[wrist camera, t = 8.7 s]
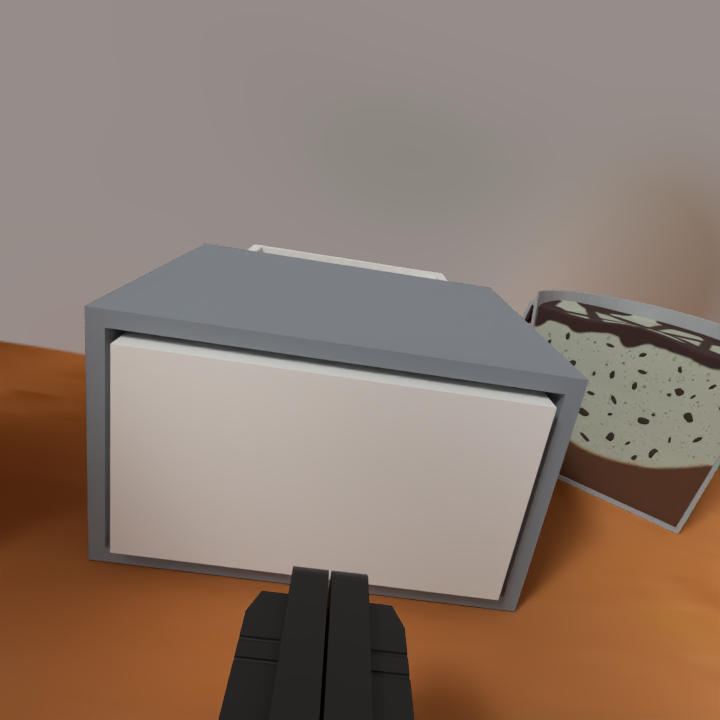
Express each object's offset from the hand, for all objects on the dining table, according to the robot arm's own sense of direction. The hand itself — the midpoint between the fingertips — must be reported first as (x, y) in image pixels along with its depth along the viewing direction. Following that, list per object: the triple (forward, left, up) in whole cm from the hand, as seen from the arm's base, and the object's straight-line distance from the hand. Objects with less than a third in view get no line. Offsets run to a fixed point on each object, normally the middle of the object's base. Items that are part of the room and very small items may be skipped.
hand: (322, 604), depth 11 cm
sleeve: (+7, +13, -7) cm, 16 cm away
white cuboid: (+10, +17, -6) cm, 20 cm away
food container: (+24, +9, -7) cm, 27 cm away
